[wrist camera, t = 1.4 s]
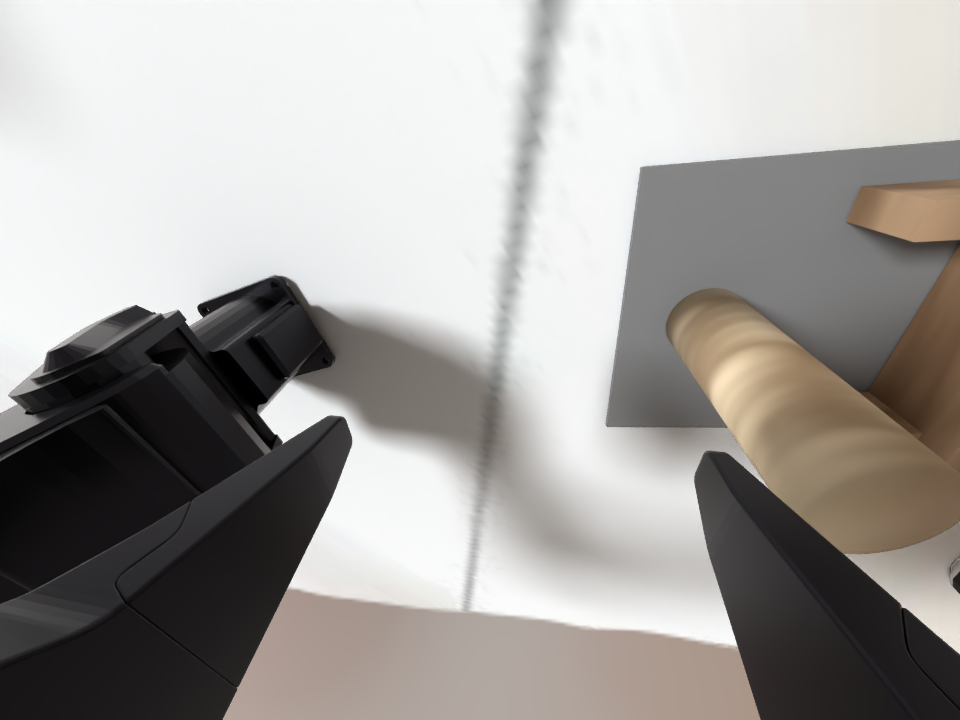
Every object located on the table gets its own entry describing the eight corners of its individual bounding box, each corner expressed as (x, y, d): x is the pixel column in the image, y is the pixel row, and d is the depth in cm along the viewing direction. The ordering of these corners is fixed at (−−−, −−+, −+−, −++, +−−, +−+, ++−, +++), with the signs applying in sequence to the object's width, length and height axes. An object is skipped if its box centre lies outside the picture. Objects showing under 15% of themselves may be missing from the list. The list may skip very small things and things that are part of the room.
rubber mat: (605, 424, 25) (606, 426, 25) (640, 167, 17) (642, 167, 17) (991, 425, 22) (996, 428, 22) (1273, 113, 14) (1287, 113, 14)
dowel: (668, 359, 22) (792, 559, 12) (662, 300, 20) (804, 479, 10) (743, 342, 21) (950, 547, 11) (744, 278, 19) (999, 455, 9)
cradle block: (763, 410, 23) (816, 474, 19) (861, 186, 16) (981, 208, 12) (884, 410, 22) (967, 477, 18) (1043, 173, 15) (1241, 191, 11)
